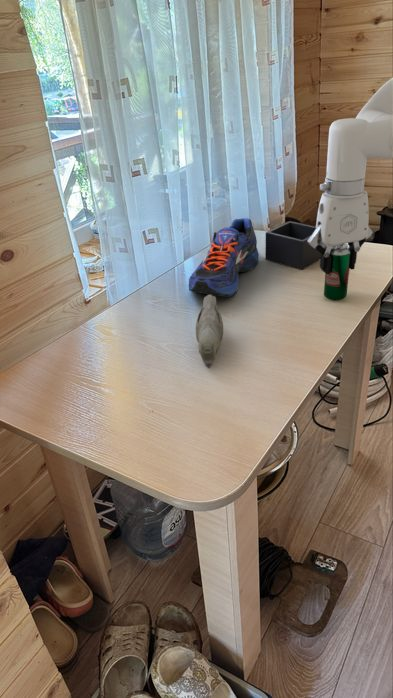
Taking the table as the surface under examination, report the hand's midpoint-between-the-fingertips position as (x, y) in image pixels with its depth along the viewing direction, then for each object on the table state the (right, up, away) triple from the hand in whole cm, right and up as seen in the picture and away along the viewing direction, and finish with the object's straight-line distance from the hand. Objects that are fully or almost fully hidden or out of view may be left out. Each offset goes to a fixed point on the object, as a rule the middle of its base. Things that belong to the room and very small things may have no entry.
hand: (337, 268), depth 113 cm
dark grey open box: (-5, +6, +24) cm, 25 cm away
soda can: (0, -6, +4) cm, 7 cm away
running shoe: (-24, 0, +15) cm, 29 cm away
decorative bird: (-28, -17, -10) cm, 35 cm away
